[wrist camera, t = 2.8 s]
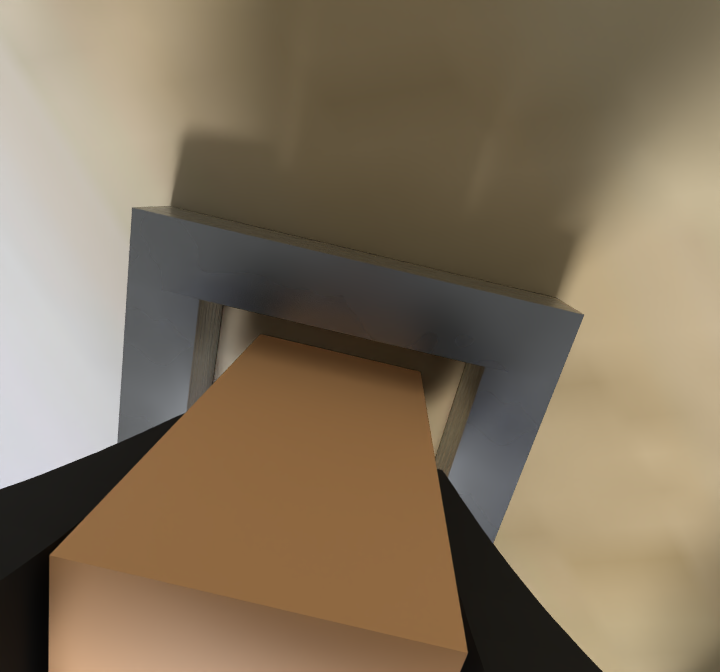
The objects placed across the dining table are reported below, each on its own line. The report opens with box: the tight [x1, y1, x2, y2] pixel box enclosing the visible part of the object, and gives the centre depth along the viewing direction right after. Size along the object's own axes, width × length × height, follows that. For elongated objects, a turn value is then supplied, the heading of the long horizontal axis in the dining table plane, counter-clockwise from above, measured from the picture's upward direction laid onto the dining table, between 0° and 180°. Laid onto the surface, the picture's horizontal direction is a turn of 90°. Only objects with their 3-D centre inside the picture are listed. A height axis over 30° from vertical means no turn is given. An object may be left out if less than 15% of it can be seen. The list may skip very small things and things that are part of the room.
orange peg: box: [49, 334, 468, 672], centre depth 8 cm, size 4×4×7 cm
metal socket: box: [118, 206, 584, 543], centre depth 11 cm, size 9×9×2 cm
